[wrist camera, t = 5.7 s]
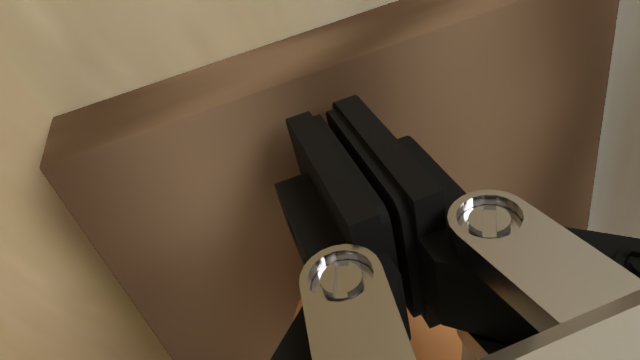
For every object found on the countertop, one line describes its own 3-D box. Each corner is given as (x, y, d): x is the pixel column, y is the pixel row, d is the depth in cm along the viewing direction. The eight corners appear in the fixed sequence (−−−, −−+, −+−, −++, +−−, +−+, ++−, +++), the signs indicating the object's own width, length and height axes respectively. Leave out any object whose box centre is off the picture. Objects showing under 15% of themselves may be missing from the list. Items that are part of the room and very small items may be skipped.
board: (556, -53, 14) (624, -36, 12) (533, 332, 25) (567, 374, 23) (52, 117, 12) (39, 168, 10) (262, 451, 23) (274, 506, 21)
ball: (517, 399, 11) (459, 411, 15) (448, 211, 13) (413, 266, 17) (312, 451, 10) (309, 449, 14) (273, 246, 12) (280, 294, 16)
